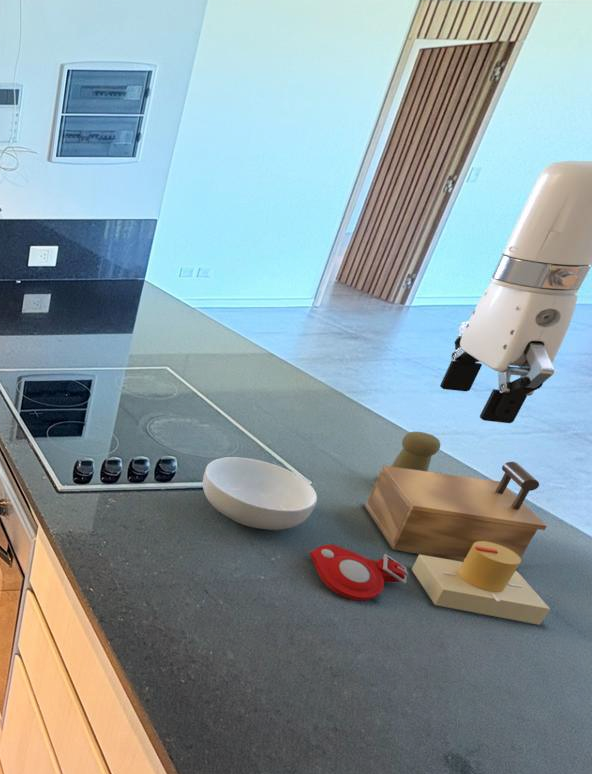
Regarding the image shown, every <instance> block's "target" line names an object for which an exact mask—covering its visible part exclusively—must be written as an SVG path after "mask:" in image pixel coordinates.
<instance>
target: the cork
mask: <svg viewBox="0 0 592 774" xmlns="http://www.w3.org/2000/svg"><path fill="white" fill-rule="evenodd" d="M401 445H402V447H403V448H402V449H401V450H400V451H399V453H398V455H397V457H396V458H395V459H394V461H393V463H392V464H391V467H398V468H405V469H412V470H420V471H427V472H429V471H428V470H429V468H430V465H431V460H432V456H434V455H436V453H438V451H440V448H441V442H440V439H438V437H436V436H435V435H433V434H430V433H427V432H424V431H423V432H422V431H410V432H407V433H406V434H405V435H404V436H403V438H402V440H401Z"/></svg>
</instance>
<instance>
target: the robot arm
mask: <svg viewBox="0 0 592 774" xmlns="http://www.w3.org/2000/svg"><path fill="white" fill-rule="evenodd" d="M591 267H592V160H563V161H557V162H552V163H550V164H549V165H547V166H545V167H544V168H543V169H542V170H541V171H540V173H539V174H538V176H537V178H536V179H535V182H534V184H533V186H532V188H531V191H530V192H529V194H528V197H527V199H526V201H525V203H524V206H523V208H522V210H521V212H520V214H519V217H518V219H517V221H516V223H515V225H514V227H513V229H512V232H511V234H510V236H509V238H508V240H507V242H506V245H505V247H504V249H503V251H502V254H501V255H500V258H499V260H498V262H497V264H496V266H495V269H494V271H493V273H492V276H491V277H490V279H489V281H490V283H489V284H488V286H487V288H485V291H484V292H483V294H482V295H481V297H480V299H479V301H478V302H477V304H476V306H475V308H474V310H473V312H472V314H471V316H470V317H469V320H467V321H463V322H461V323H459V325H458V332H457V338H456V339H455V341H454V348H455V349H454V351H452V353H451V355H450V359H451V361H450V363H449V365H448V368H447V370H446V372H445V374H444V376H443V377H442V380H441V382H440V385H439V387H440V388H441V389H443V390H447V391H457V392H469V391H470V390H471V388H472V387H473V385H474V382H475V380H476V379H477V376H478V374H479V373H480V370H481V368H482V367H483V365H485V366H487V367H488V368H490V369H491V370H493V371H495V372H497V377H498V382H497V383H498V389H496V388H493V389H492V390H491V393H490V395H489V396H488V399H487V400H486V402H485V405H484V407H483V408H482V410H481V413H480V415H479V418H480V419H481V420H482V421H486V422H493V423H494V422H495V423H502V424H513V422H515V420H516V418H517V416H518V414H519V412H520V410H521V409H522V406H523V404H524V403H525V401H526V399H527V398H528V396H532V395H534V392H535V391H536V390H539V389H540V388H542V386H544V385H543V384H544V383H545V382H546V381H547V380H549V379H550V377H552V376H553V375H554V374H555V367H554V365H553V363H554V361H555V358H556V357H557V354H558V352H559V350H560V349H561V346H562V344H563V341H564V339H565V337H566V335H567V332H568V329H569V327H570V325H571V322H572V319H573V316H574V312H575V309H576V305H577V301H578V295H577V293H579V290H580V288H581V286H582V284H583V283H584V281H585V279H586V277H587V275H588V273H589V271H590V269H591ZM512 376H518V378H516V379H515V380H512ZM519 376H520V377H519Z"/></svg>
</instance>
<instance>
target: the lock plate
mask: <svg viewBox="0 0 592 774" xmlns="http://www.w3.org/2000/svg"><path fill="white" fill-rule="evenodd" d="M464 560H465V559H464ZM462 564H463V561H457V560H451V559H445V558H439V557H433V556H428V555H422V554H418V556H417V558H416V559H415V562H414V564H413V566H412V568H411V571H412V573H413V574H414V576H415V577H416V579H417V580H418V582H419V583H420V585H421V586H422V588H423V589H424V591H425V592H426V594H427V595H428V597H429V598H430V600H431V602H432V603H433V604H434V606H437V607H443V608H448V609H454V610H460V611H463V612H464V611H465V612H468V613H469V612H470V613H473V614H474V613H476V614H480V615H486V616H491V617H497V618H500V619H507V620H510V621H516V622H517V621H518V622H521V623H522V622H523V623H526V624H533V625H538V626H541V624H542V622H543V621H544V619H545V618H546V616H547V615H548V613H549V612H550V610H551V608H550V607H549V606H548V604H547V603H546V602H545V601H544V599H542V597H541V596H540V595H539V594H538V593H537V592H536V591H535V589H533V587H532V586H531V585H530V583H528V582H527V581H526V579H525V578H524V577H523V576H522V575H521V574H520V572H518V571H517V570H516V571H515V572H514V574H513V576H512V577H511V579H510V581H509V582H508V584H507V586H506V587H505V589H504V590H503V591H500V592H492V591H487V590H483V589H480V588H478V587H475V586H473V585H471V584H470V583H468V582H466V581H465V580H464V579H463V578H461V576H460V575H459V569H460V567H461V566H462Z"/></svg>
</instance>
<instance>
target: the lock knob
mask: <svg viewBox="0 0 592 774" xmlns="http://www.w3.org/2000/svg"><path fill="white" fill-rule="evenodd" d="M462 562H463V561H462ZM521 562H522V559H521V558H520V557H519V556H518V555H517V554H516V553H515V552H513V551H511V550H510V549H508V548H506V547H503V546H501V545H498V544H495V543H491V542H486V541H478V542H475V543H474V544H473V545H472V547H471V549H470V551H469V553H468V555H467V556H466V558H465V560H464V562H463V564H462V566H461V567H460V569H459V575H460V576H461V578H463V579H464V580H465V581H466V582H468V583H470V584H471V585H473V586H475V587H478V588H480V589H483V590H487V591H492V592H500V591H503V590H504V589H505V587H506V586H507V584H508V582H509V581H510V579H511V577H512V576H513V574H514V572H515V571H517V569H518V567H519V566H520V564H521Z"/></svg>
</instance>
